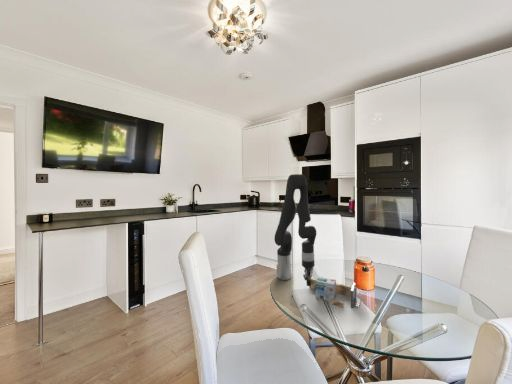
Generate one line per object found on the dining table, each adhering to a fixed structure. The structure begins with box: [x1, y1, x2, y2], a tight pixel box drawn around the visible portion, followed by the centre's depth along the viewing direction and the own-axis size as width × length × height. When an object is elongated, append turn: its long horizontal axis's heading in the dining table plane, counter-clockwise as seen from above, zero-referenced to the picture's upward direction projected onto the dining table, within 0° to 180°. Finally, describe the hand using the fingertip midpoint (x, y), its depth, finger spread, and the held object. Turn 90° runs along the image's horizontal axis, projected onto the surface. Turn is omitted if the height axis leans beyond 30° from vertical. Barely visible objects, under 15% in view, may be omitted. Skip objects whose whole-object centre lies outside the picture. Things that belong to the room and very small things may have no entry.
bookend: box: [350, 282, 361, 309], centre depth 138 cm, size 4×10×10 cm, turn 151°
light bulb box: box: [315, 276, 337, 303], centre depth 146 cm, size 11×7×11 cm, turn 62°
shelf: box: [308, 277, 358, 308], centre depth 146 cm, size 28×14×6 cm, turn 61°
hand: (308, 285), depth 151 cm, fingers closed
